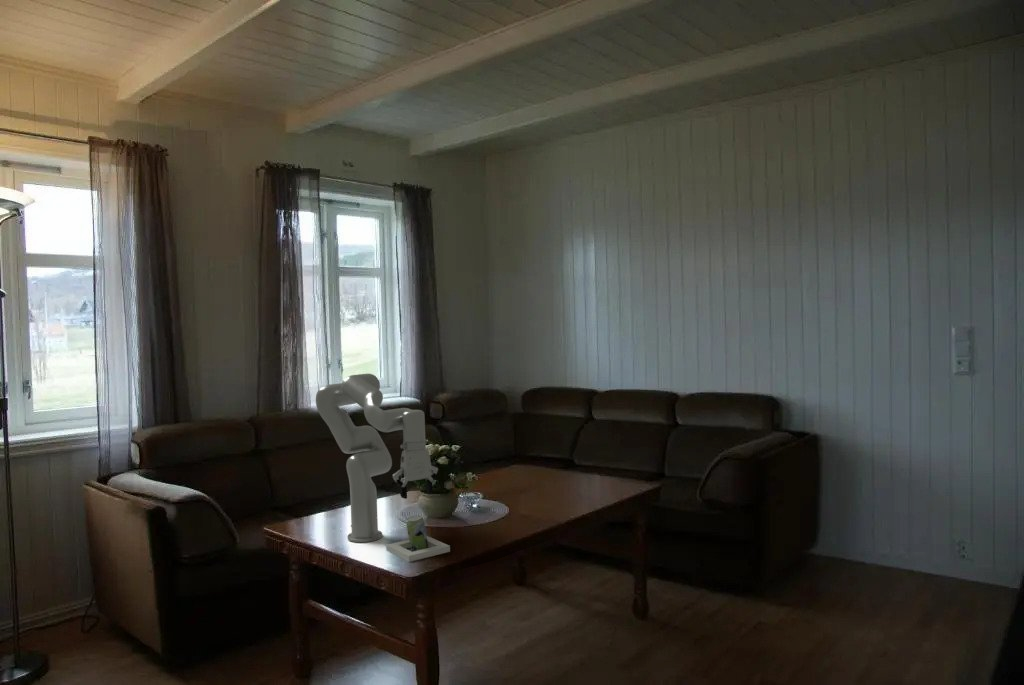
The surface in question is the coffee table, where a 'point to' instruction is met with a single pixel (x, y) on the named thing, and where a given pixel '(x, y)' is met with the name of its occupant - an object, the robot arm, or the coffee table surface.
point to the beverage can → (417, 533)
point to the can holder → (402, 552)
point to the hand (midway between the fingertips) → (416, 495)
